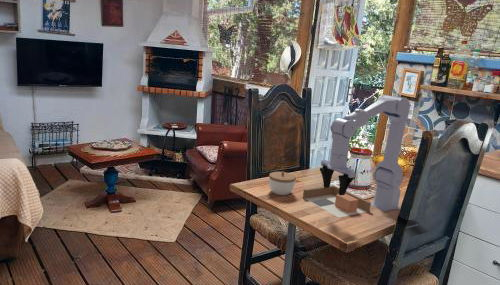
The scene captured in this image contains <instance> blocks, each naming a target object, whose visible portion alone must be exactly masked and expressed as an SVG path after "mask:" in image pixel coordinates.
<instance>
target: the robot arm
mask: <svg viewBox="0 0 500 285" xmlns="http://www.w3.org/2000/svg"><path fill="white" fill-rule="evenodd" d="M410 109H411V103H410V101H409V99H408V98H407V97H399V96H393V95H388V94H382V95H381V96H379V97H377V99H376V101H375V102H373V103H372V104H370V105H369V106H367V107H366V108H365V109H363V108H355V109H354V111H353V112H351V113H349V114H346V115H345V116H343V117H338V118H335V119H334V120H333V121H332V123H331V125H330V132H331V138H332V141H331V148H330V149H331V150H330V156H329V160H327V159H322V160H321V162H320V166H321V167H319V171H320V173H321V174H320V175H321V176H322V182H323V187H324V188H329V187H330V186H331V183H332V182H331V181H332V178H333V175H334V172H336V173H339V174H342V175H338V182H339V184H338V185H339V186H338V187H339V195H345V193H346V191H348V188H349V186H350V184H352V182H353V180H354V179H355V175H356V171H354V170H352V169H351V168H349V167H348V166H347V163H348V157H349V149H350V142H351V138H352V137H353V136H354V135H355V133H356V132H357V131H358V129H360V128H361V127H363V126H365V125H366V124H368V123H369V121H370V118H374V117H375V116H377V115H379V114H381V113H383V114H384V115H386V116H387V117H388V119H389V120H390V124H389V128H388V134H387V140H386V144H385V149H384V154H383V160H381V161H379V162H378V163H376V167H375V170H374V171H373V174H372V176H373V181H374V183H375V184H376V185H375V186H376V187H375V192H374V198H373V201H372V202H371V205H370V206H373V207H375V208H377V209H379V210H381V211H383V212H385V211H387V212H388V211H392V210H399V209H400V206H399V202H400V197H401V189H400V186H401V185H402V183H403V179H404V178H403V176H404V175H403V173H404V172H403V171H404V169H403V168H402V166H401V164H399V159H400V153H401V149H402V143H403V139H404V133H405V128H406V124H407V121H408V119H409V114H410Z"/></svg>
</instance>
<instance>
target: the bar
mask: <svg viewBox="0 0 500 285" xmlns="http://www.w3.org/2000/svg"><path fill="white" fill-rule="evenodd" d="M357 205H358V199H356V198H354V197H352V196H350V195H347V194H345V195H339V194H337V195H336V200H335V206H336V207H338V208H340V209H342V210H344V211H346V212H348V213H349V212H354V211H357Z"/></svg>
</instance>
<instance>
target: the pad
mask: <svg viewBox="0 0 500 285" xmlns="http://www.w3.org/2000/svg"><path fill="white" fill-rule="evenodd" d="M311 202H313V203H315V204H316V205H315V204H314V205H315V206H317V205H318V206H320V207H321V206H326V205H332V204H335V203H334V202H332V201H330V200H328V199H320V200H314V201H311ZM311 202H310V203H311ZM313 203H312V204H313ZM318 206H317V207H318ZM320 207H319V208H320Z"/></svg>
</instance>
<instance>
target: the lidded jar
mask: <svg viewBox="0 0 500 285" xmlns="http://www.w3.org/2000/svg"><path fill="white" fill-rule="evenodd" d="M268 176H269V177H268V183H269V184H268V185H269V189H270V190H271V192H272V193H273V194H275V195H278V196H288V195H289V194H291V193H292V192H293V190H294V187H295V185H296V178H297V177H296V176H295V175H294V174H293V173H290V172H285V171H273V172H270V173H269V175H268Z"/></svg>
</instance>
